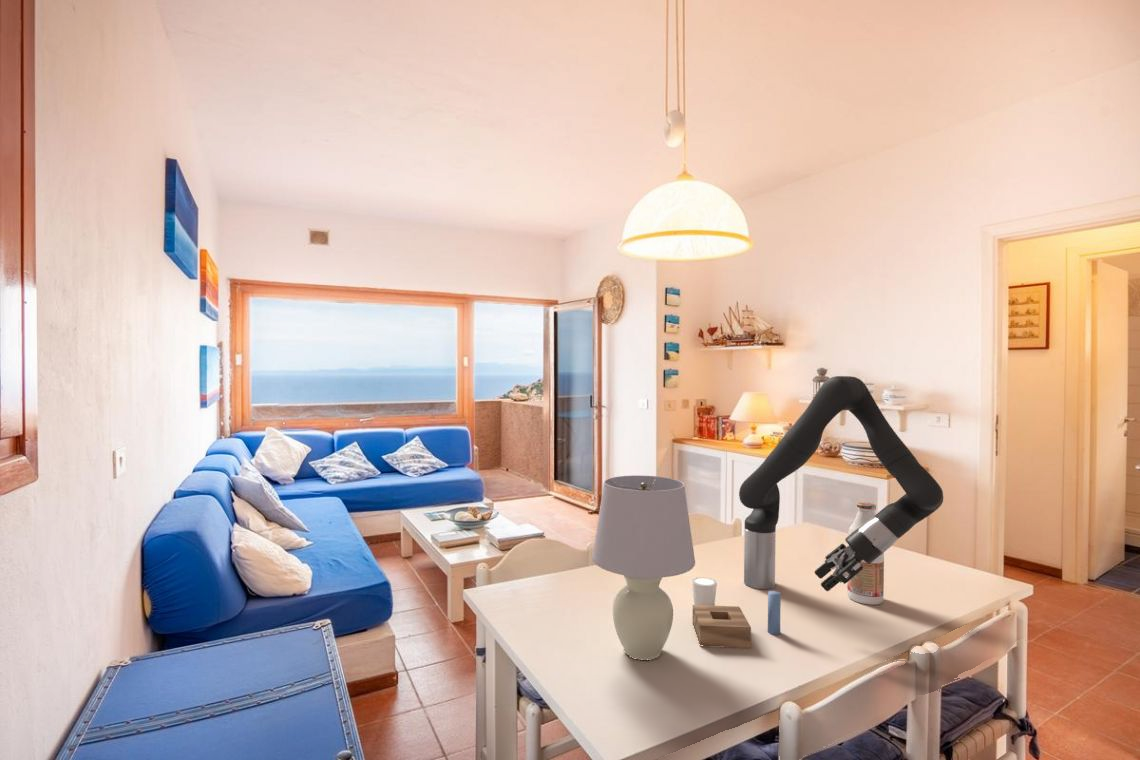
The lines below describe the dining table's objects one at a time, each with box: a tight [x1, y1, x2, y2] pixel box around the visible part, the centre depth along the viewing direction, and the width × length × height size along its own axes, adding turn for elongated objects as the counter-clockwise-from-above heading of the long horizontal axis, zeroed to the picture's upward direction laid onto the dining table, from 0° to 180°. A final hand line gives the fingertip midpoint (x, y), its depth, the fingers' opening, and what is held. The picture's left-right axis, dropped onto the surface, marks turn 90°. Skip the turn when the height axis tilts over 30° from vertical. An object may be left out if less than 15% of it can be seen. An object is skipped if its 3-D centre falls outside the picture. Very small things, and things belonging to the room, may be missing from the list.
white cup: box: [691, 576, 718, 606], centre depth 158 cm, size 7×7×7 cm
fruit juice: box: [846, 501, 885, 606], centre depth 163 cm, size 9×9×28 cm
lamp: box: [591, 474, 696, 660], centre depth 131 cm, size 24×24×40 cm
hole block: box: [692, 604, 752, 649], centre depth 140 cm, size 12×12×5 cm
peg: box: [767, 590, 782, 636], centre depth 142 cm, size 3×3×10 cm
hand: (820, 581), depth 139 cm, fingers open, 8 cm apart
